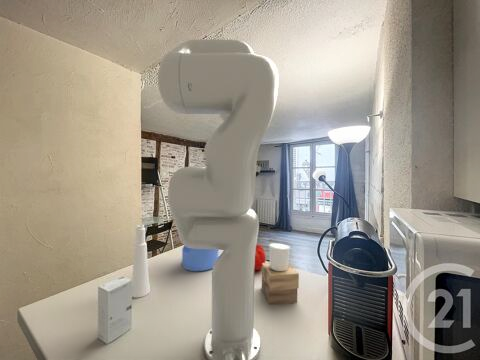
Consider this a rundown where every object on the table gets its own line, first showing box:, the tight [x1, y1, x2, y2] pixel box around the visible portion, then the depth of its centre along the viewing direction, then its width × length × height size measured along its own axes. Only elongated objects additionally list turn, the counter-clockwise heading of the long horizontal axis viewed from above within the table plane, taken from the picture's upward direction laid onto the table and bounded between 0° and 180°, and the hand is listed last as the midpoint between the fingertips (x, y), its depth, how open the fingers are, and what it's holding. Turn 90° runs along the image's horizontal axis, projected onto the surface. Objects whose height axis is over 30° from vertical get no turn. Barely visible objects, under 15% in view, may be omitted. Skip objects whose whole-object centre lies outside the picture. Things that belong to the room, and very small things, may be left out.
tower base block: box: [261, 276, 298, 305], centre depth 66 cm, size 9×9×4 cm
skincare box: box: [97, 276, 133, 345], centre depth 50 cm, size 6×4×12 cm
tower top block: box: [261, 262, 300, 291], centre depth 66 cm, size 9×9×4 cm
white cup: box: [268, 242, 291, 271], centre depth 66 cm, size 7×7×7 cm
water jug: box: [181, 245, 219, 272], centre depth 88 cm, size 16×16×28 cm
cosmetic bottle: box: [131, 224, 152, 299], centre depth 66 cm, size 6×6×22 cm
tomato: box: [254, 244, 266, 271], centre depth 85 cm, size 11×12×9 cm
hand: (237, 190), depth 74 cm, fingers open, 9 cm apart
